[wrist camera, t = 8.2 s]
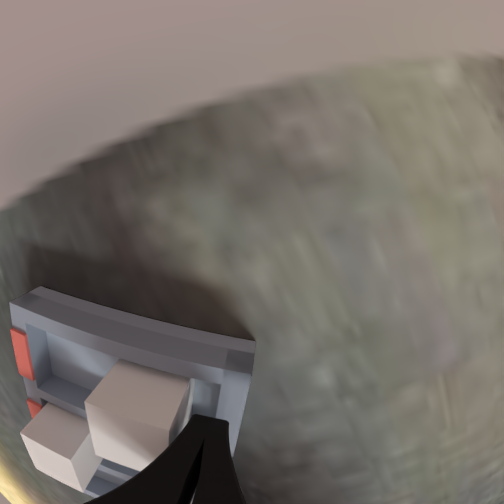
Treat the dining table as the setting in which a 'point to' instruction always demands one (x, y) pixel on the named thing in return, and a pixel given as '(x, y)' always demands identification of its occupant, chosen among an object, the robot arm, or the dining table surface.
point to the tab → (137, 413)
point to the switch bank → (125, 347)
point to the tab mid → (61, 446)
